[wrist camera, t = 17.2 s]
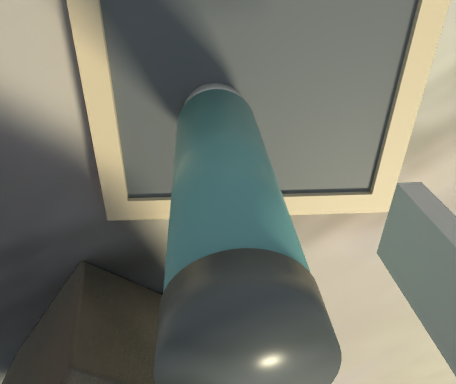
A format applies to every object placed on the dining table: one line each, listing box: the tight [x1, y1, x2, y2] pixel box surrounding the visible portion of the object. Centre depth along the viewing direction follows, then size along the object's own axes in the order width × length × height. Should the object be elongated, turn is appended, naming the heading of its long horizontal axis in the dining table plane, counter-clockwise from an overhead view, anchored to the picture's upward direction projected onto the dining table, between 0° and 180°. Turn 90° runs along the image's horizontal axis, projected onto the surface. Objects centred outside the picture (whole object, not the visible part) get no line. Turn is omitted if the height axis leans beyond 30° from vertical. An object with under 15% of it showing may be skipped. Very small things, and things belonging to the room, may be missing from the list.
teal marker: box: [154, 83, 341, 384], centre depth 13 cm, size 4×4×13 cm
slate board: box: [66, 0, 451, 221], centre depth 16 cm, size 15×19×1 cm
